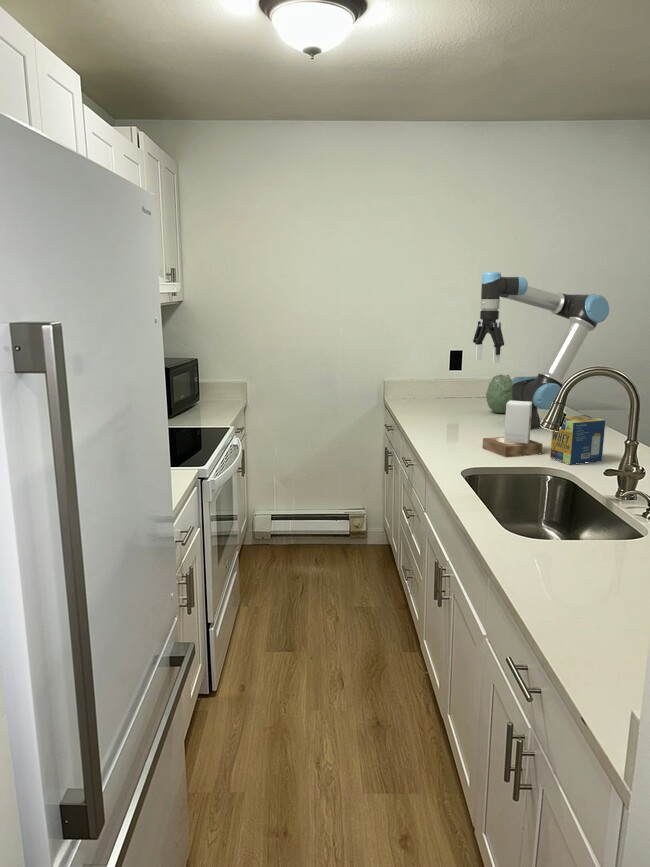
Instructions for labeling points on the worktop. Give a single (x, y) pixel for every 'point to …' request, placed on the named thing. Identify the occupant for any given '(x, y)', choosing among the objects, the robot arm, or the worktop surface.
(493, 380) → the cabbage
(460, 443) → the worktop surface
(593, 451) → the protein box
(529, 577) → the worktop surface
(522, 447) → the pedestal
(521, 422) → the supplement box
